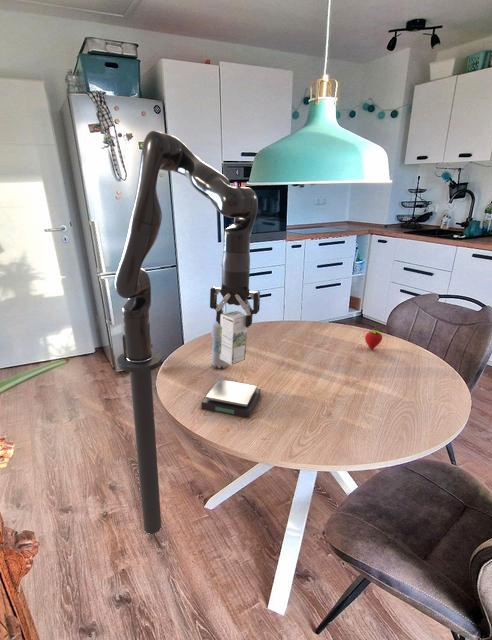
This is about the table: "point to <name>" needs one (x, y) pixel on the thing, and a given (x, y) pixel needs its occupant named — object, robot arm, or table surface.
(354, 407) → the table surface
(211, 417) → the table surface
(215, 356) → the bottle
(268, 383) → the table surface
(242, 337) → the syrup box
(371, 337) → the strawberry
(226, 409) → the scale
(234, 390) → the pan
